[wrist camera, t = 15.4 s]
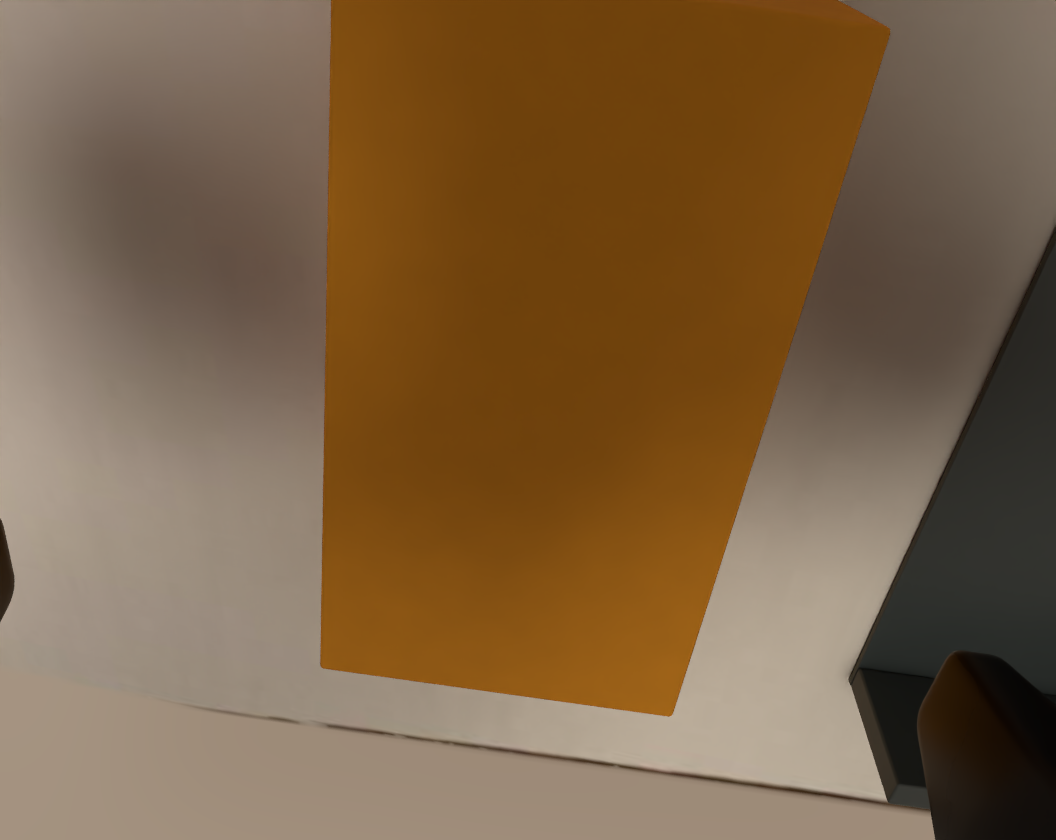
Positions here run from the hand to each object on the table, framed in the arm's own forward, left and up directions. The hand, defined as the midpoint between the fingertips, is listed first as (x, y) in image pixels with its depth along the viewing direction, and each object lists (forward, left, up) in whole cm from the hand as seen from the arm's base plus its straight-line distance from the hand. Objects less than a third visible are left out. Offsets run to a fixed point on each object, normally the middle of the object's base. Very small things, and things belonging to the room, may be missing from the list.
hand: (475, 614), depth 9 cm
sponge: (0, 0, -8) cm, 8 cm away
